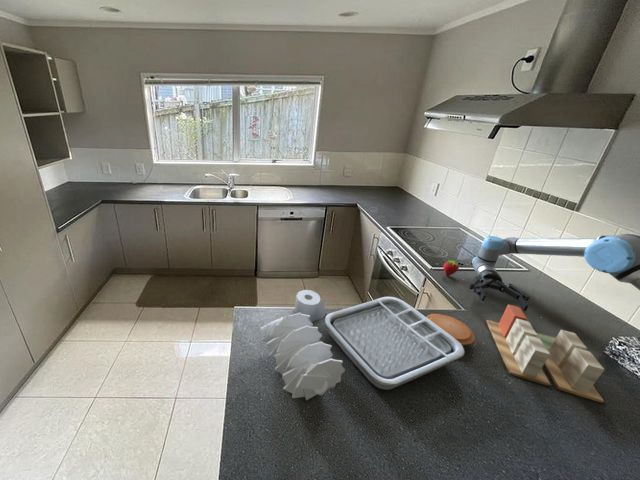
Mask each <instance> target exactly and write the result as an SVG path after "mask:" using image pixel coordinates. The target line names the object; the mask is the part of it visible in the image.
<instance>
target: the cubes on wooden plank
mask: <svg viewBox="0 0 640 480" xmlns="http://www.w3.org/2000/svg"><path fill="white" fill-rule="evenodd" d="M536 333H537V337H536V338H540V340H541V341H542V343H543V344H544V346H545V347H546V349H547V351H548V352H549V354H550V355H549V357H548V358H547V360H546V362H545V363H544V365H543V367H544V368H545V369H546V372H547V373H548V375H549V377H550V378H551V380H552V382H553V383H554V385H555V387H556V388H557V390H560V391H562V392H565V393H569V394H572V395H575V396H578V397H582V398H585V399H587V400H592V401H593V402H594V401H595V402H597V403H602V404H603V403H604V401H605V400H604V399H603V397H602V396H601V395H600V393H599V392H598V390H597V389H596V388H595V386H594V385H595V384H596V382H597V381H598V379H599V378H600V376H601V375H602V374H603V373H604V371H605V368H604V367H603V366H602V365H601V363H600V362H599V361H598V359H597V358H596V357H595V356H594V355H593V353H592V352H591V351H589V350H587V349H588V347H587V346H586V345H585V344H584V342H582V340H581V339H580V337H579V336H578V335H577V333H576V332H572V331H569V330H564V329H560V330H559V332H558V334H557V336H556V337H555V336H550V335H548V334H544V333H539V332H536Z"/></svg>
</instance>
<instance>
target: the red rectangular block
mask: <svg viewBox="0 0 640 480" xmlns="http://www.w3.org/2000/svg"><path fill="white" fill-rule="evenodd" d="M516 319H521V320H525V321H528V318H527V316H526V314H525V313H524V311H523V310H522V308H521V307H520V306H517V305H512V304H510V303H509V304H507V306H506V308H505V310H504V312H503V313H502V316H501V318H500V320H499V322H498V323H499V324H498V325H499V327H500V329H501V331H502V333H503V335H504V337H507V336H508V334H509V332H510V330H511V328H512V326H513V324H514V322H515V320H516Z"/></svg>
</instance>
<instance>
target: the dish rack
mask: <svg viewBox="0 0 640 480" xmlns="http://www.w3.org/2000/svg"><path fill="white" fill-rule="evenodd" d="M324 317H325V318H324V324H325V325H326V327H327V330H328V334H329V335H330V336H331V338H332V339H333V340H334V342H336V344H337V345H338V347H340V349H341V350H342V352H344V353H345V354H346V356H347V357H348V358H349V359H350V361H351V362H352V363H353V364H354V365H355V367H356V368H357V369H359V371H360V372H361V373H362V374H363V375H364V376H365V378H367V380H368V381H369V382H370V383H371V384H372V385H374V386H375V387H376V388H378V389H380V390H385V391H386V390H392V389H395V388H398V387H400V386H402V385H405V384H407V383H409V382H412V381H414V380H415V379H417V378H420V377H422V376H424V375H427V374H430V373H431V372H434V371H436V370H438V369H440V368H443V367H445V366H447V365H448V364H450V363H452V362H454V361H456V360H459V359H462V357H463V356H464V355H465V348H464V346H462V345H461V343H459V342H458V341H457V340H456V339H455V338H454V337H452V336H451V335H450V334H448V333H447V332H446V331H444V330H443V329H441V328H440V327H439V326H437V325H436V324H435V323H433V322H432V321H431V320H429V319H428V318H426V317H427V316H425V315H424V314H423V313H421V312H420V311H418V310H417V309H415V307H413V306H411V305H410V304H408V303H407V302H405V301H404V300H402V299H400V298H397V297H394V296H382V297H379V298H375V299H374V300H370V301H367V302H363V303H360V304H357V305H353V306H350V307H347V308H343V309H339V310H336V311H332V312H330V313H328V314H326V315H325V316H324Z"/></svg>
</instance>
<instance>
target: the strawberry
mask: <svg viewBox="0 0 640 480" xmlns="http://www.w3.org/2000/svg"><path fill="white" fill-rule="evenodd" d="M458 270H459V265H458V263H457V262H456V260H455V259H454V260H450V259H448V260H446V262H444V263H443V271H444V273H445V275H446V276H447V277H450V276H452V275H453V274H455V273H457V271H458Z"/></svg>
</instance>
